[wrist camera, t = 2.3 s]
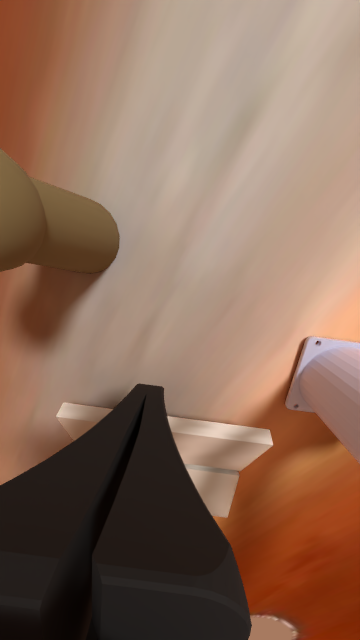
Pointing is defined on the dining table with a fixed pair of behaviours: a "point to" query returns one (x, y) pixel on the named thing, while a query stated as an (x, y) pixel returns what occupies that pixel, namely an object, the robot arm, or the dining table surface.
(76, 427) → the board
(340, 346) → the robot arm
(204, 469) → the laid board
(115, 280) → the dining table surface
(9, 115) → the dining table surface
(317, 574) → the dining table surface
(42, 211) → the cork
